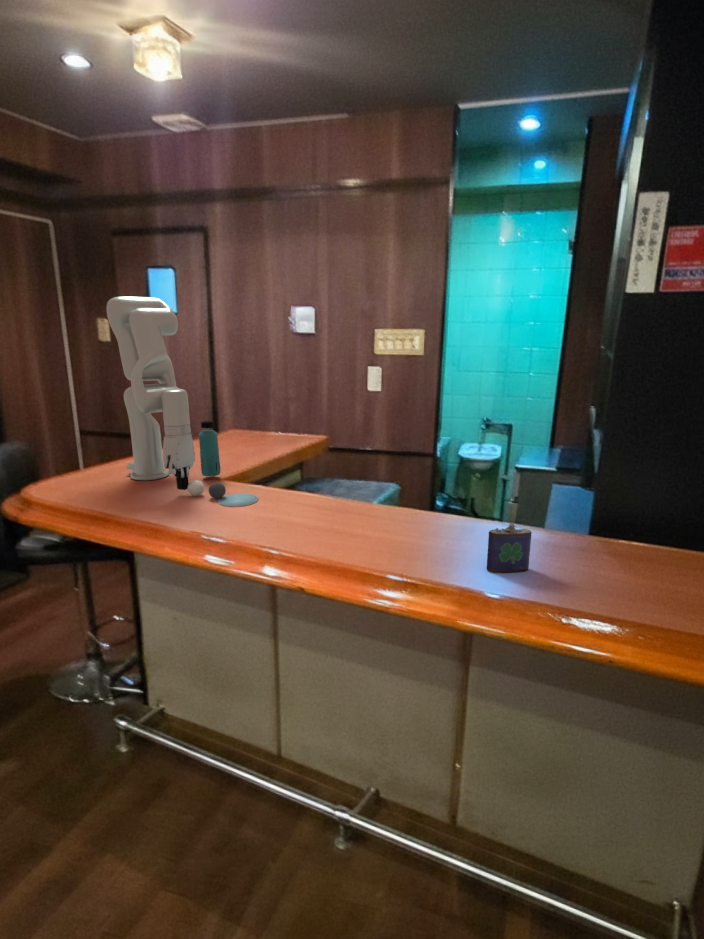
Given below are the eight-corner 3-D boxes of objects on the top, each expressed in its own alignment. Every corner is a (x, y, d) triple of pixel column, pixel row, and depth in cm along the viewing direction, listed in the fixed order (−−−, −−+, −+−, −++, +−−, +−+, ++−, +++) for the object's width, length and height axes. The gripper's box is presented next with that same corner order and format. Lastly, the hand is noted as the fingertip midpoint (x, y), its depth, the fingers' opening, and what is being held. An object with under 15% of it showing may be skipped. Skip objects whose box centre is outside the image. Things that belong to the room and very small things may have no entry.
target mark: (209, 504, 157) (209, 503, 157) (230, 492, 169) (230, 492, 168) (246, 508, 154) (246, 507, 154) (265, 496, 165) (265, 495, 165)
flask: (525, 566, 117) (529, 520, 114) (531, 572, 114) (535, 525, 111) (484, 568, 116) (487, 521, 113) (489, 574, 113) (492, 526, 111)
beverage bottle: (218, 480, 182) (214, 422, 177) (198, 480, 182) (194, 422, 177) (223, 475, 188) (219, 419, 183) (204, 475, 188) (200, 419, 183)
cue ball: (181, 487, 164) (191, 478, 162) (191, 483, 168) (201, 475, 166) (190, 500, 164) (200, 492, 162) (200, 496, 168) (210, 488, 166)
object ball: (206, 499, 162) (204, 484, 160) (214, 495, 166) (213, 479, 165) (220, 501, 160) (219, 485, 159) (229, 496, 165) (228, 481, 164)
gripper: (182, 425, 169) (187, 481, 174) (150, 434, 156) (157, 494, 160) (202, 426, 167) (207, 483, 171) (172, 435, 153) (178, 496, 158)
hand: (183, 488), depth 166 cm, fingers closed
